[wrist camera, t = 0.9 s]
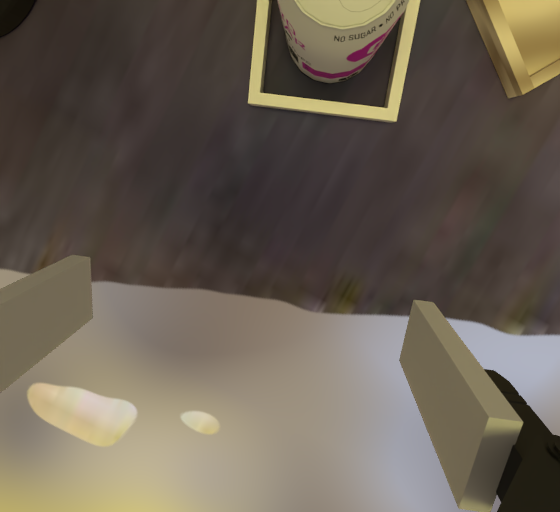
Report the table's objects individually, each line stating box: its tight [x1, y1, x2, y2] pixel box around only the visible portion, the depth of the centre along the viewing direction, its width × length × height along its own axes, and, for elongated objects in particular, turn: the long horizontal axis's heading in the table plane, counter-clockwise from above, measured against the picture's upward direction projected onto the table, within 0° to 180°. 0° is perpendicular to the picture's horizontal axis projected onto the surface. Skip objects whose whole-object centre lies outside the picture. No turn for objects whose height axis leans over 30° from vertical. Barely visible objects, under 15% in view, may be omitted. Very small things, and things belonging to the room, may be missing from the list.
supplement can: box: [277, 0, 409, 83], centre depth 27 cm, size 8×8×15 cm
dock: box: [248, 0, 420, 123], centre depth 31 cm, size 14×14×6 cm
